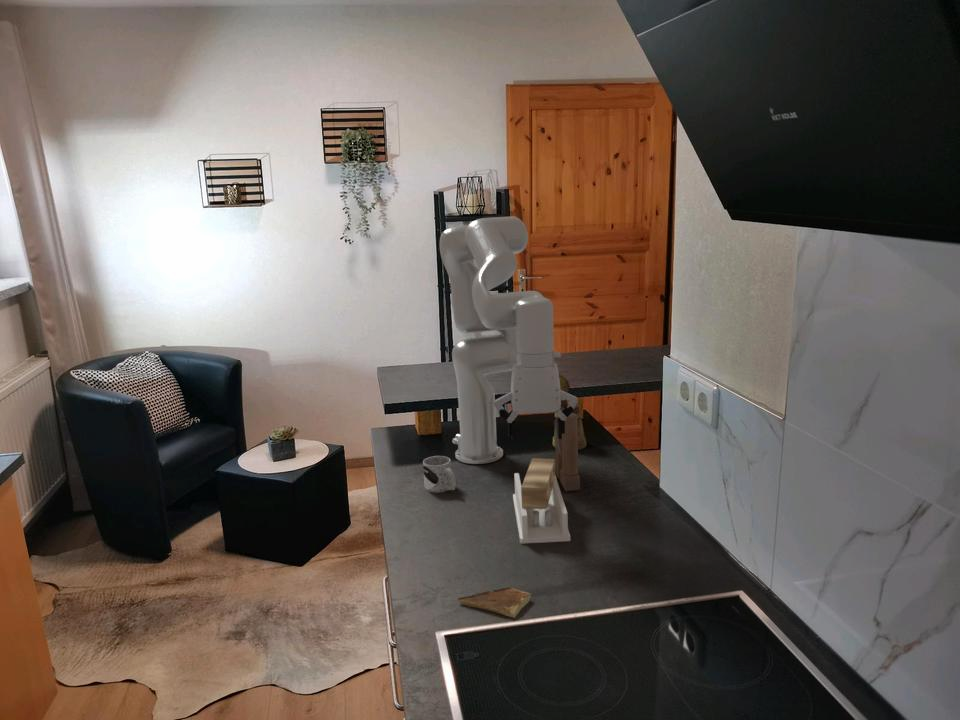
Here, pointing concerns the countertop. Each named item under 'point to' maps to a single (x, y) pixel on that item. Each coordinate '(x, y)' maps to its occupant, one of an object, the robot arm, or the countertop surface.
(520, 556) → the countertop surface
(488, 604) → the shard
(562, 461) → the wooden block
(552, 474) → the wooden bar
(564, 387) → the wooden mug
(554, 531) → the peg stand
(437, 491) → the mug
